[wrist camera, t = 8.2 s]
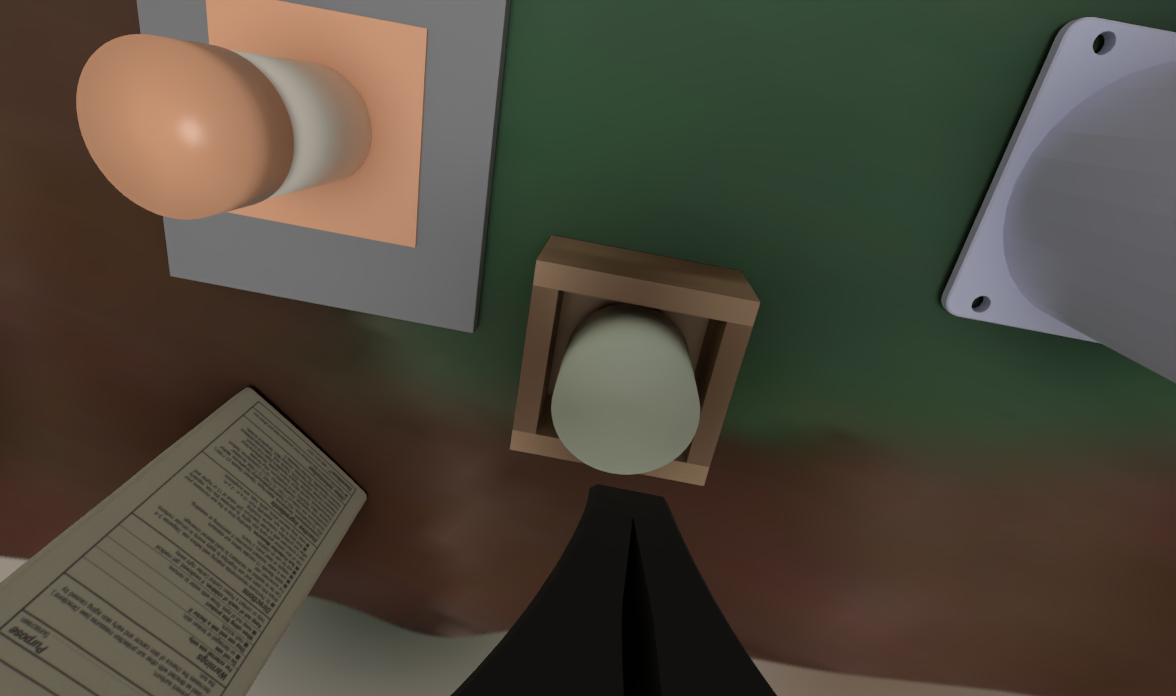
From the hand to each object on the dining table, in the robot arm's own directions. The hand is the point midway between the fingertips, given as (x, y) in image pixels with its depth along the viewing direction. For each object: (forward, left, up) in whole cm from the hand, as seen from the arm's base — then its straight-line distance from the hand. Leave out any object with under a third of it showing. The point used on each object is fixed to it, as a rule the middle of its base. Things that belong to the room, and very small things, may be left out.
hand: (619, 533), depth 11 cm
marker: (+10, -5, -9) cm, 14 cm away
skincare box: (+12, +8, -10) cm, 17 cm away
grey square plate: (+10, -5, -9) cm, 15 cm away
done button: (0, 0, -8) cm, 8 cm away
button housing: (0, 0, -9) cm, 9 cm away
